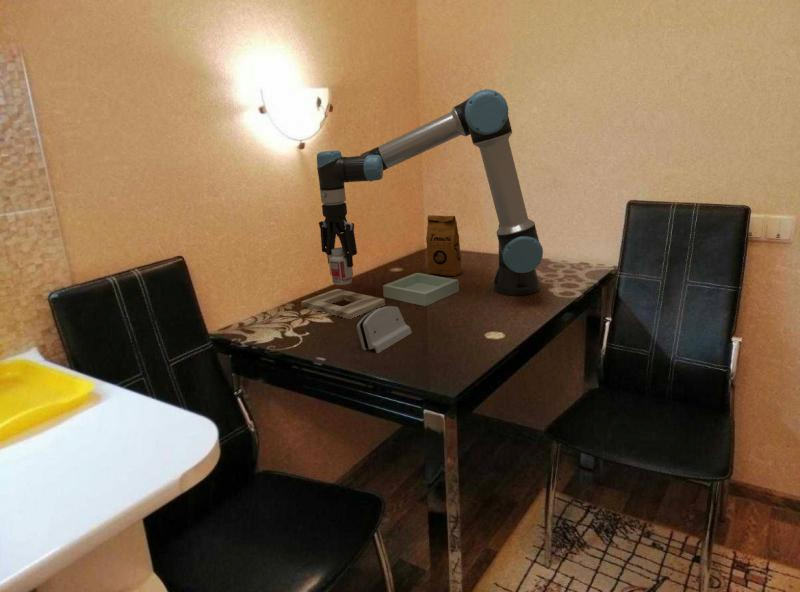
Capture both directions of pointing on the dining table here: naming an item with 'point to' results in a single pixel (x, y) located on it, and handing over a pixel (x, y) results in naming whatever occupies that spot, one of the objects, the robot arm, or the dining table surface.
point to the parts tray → (421, 289)
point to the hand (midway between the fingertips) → (341, 275)
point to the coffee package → (443, 246)
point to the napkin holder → (382, 328)
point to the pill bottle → (338, 267)
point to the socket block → (348, 311)
